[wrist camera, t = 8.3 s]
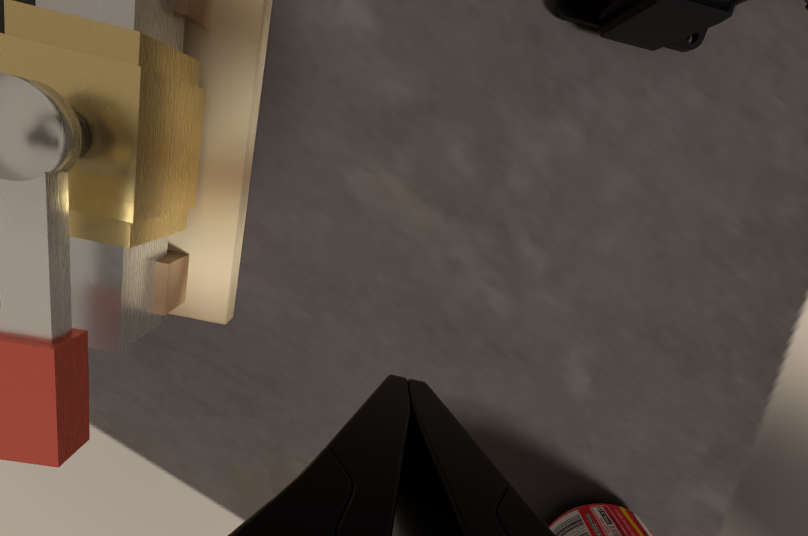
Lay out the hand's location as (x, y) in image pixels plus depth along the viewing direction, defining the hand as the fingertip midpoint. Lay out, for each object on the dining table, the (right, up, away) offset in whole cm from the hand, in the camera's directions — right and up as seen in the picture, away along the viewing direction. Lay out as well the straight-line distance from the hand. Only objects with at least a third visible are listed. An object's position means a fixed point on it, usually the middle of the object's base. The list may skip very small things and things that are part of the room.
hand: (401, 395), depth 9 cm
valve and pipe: (-11, +8, +8) cm, 16 cm away
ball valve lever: (-12, +3, +4) cm, 13 cm away
